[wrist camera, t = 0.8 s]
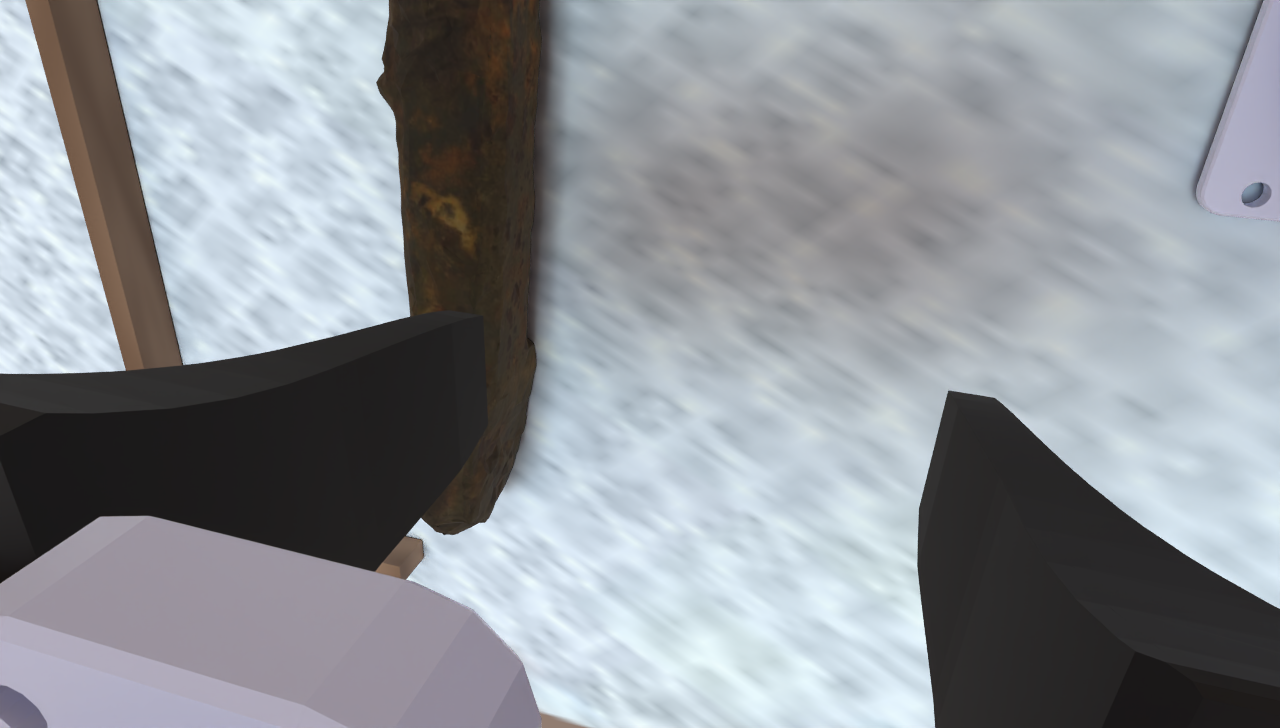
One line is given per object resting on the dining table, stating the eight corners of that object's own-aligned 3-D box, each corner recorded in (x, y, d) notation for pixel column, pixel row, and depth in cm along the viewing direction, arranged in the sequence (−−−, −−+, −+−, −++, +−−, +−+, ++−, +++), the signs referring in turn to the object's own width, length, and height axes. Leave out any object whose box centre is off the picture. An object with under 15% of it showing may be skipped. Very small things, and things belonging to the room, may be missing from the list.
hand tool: (424, -206, 18) (294, -260, 14) (585, -191, 18) (495, -244, 14) (430, 460, 27) (350, 543, 23) (538, 491, 26) (474, 582, 22)
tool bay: (329, -418, 17) (282, -451, 16) (423, 557, 29) (401, 584, 27) (-23, -392, 19) (-89, -420, 18) (198, 504, 31) (168, 526, 30)
